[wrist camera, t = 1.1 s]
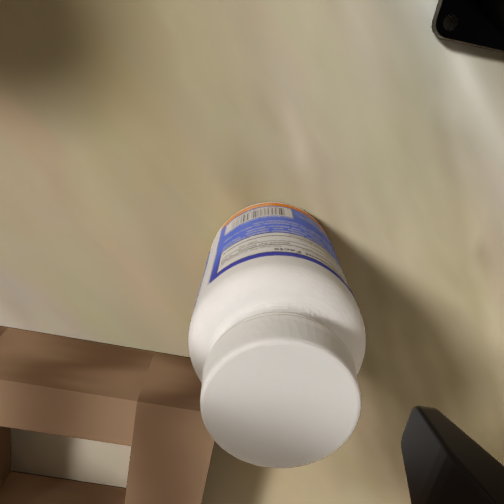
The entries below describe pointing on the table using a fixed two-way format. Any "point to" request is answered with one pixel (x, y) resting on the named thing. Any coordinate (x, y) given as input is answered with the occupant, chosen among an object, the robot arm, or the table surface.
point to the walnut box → (103, 417)
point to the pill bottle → (276, 340)
